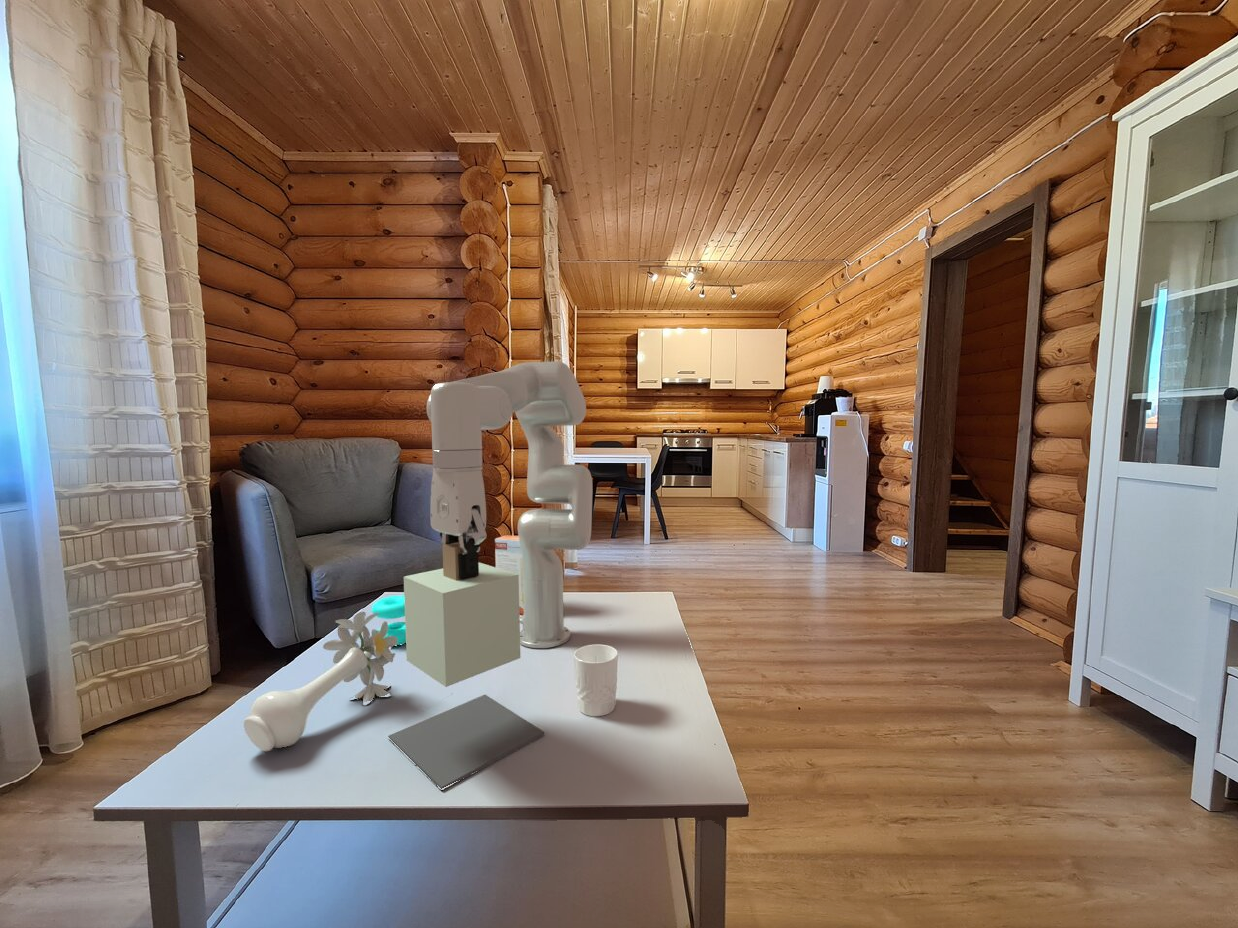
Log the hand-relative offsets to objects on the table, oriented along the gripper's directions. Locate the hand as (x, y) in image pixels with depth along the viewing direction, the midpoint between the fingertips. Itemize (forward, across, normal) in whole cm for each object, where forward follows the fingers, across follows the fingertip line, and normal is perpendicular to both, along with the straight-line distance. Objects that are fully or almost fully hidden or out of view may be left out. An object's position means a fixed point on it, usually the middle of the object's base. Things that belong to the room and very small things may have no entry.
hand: (461, 573), depth 82 cm
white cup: (+27, +9, +21) cm, 36 cm away
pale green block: (+14, 0, 0) cm, 14 cm away
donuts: (+27, -49, +9) cm, 57 cm away
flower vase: (+27, -23, -13) cm, 38 cm away
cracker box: (+27, -43, +42) cm, 66 cm away
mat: (+27, 0, 0) cm, 27 cm away
